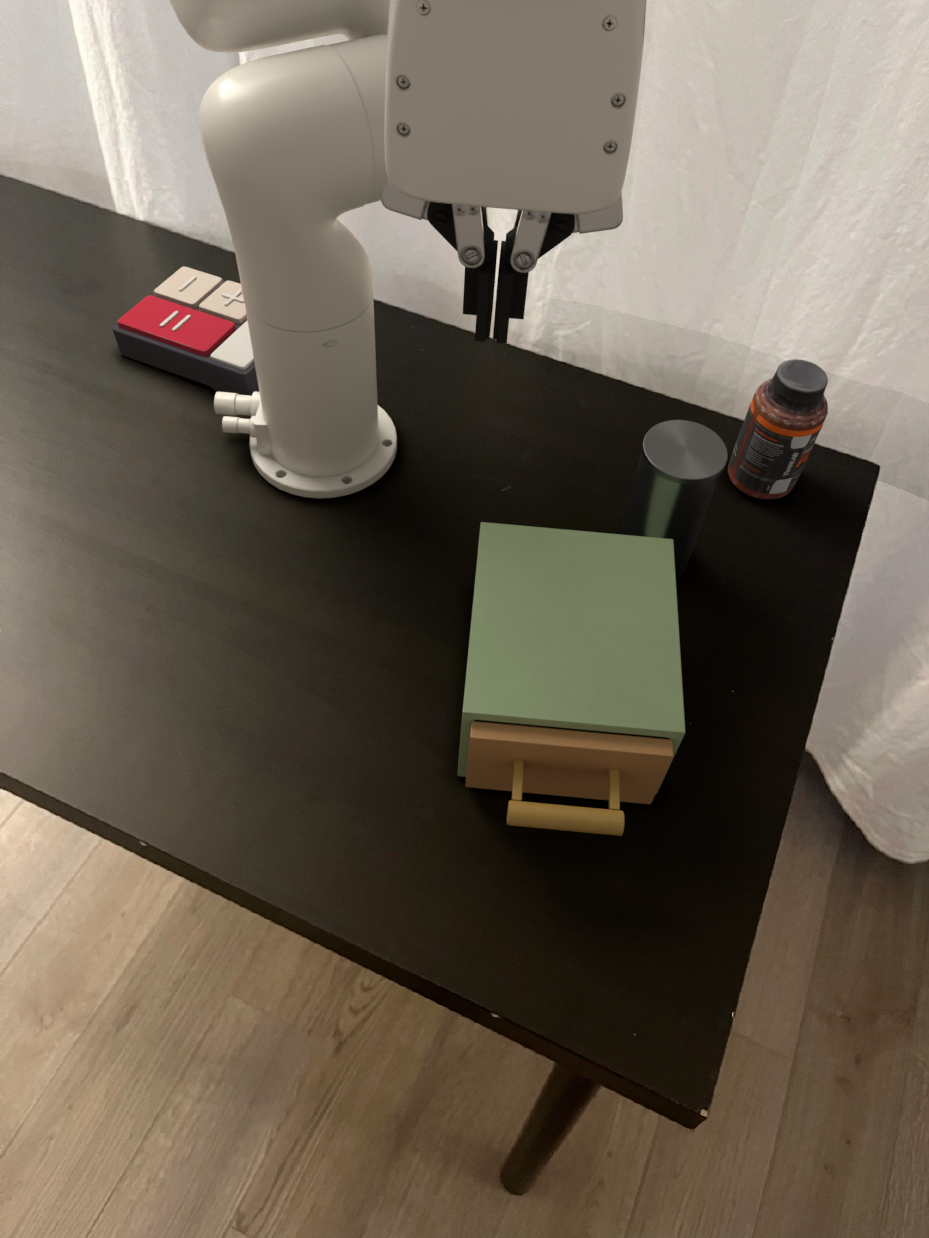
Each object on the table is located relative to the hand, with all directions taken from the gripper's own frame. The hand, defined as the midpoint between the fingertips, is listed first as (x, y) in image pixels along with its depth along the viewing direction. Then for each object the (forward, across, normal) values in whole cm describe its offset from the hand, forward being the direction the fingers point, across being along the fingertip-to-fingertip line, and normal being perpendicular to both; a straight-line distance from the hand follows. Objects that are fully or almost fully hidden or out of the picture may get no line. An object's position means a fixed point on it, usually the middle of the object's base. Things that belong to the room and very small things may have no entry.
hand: (492, 324), depth 48 cm
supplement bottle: (+29, -24, -21) cm, 43 cm away
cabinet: (+29, -7, +2) cm, 30 cm away
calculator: (+29, +26, -32) cm, 51 cm away
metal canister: (+29, -14, -11) cm, 34 cm away
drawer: (+28, -7, +6) cm, 30 cm away
